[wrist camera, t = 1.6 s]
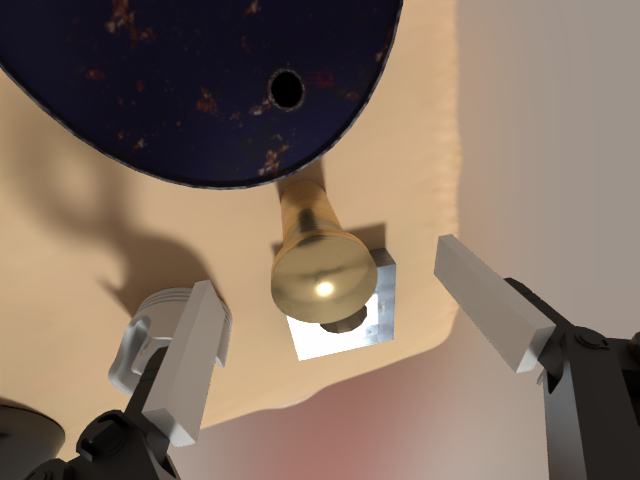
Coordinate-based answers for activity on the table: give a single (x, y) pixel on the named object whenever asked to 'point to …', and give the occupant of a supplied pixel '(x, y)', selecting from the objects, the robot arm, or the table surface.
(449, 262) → the robot arm
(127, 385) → the engine component
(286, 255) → the brass flared knob
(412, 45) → the table surface
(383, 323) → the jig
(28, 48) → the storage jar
